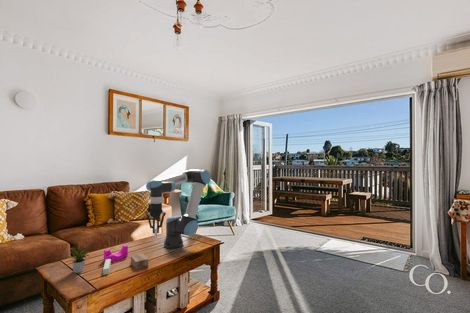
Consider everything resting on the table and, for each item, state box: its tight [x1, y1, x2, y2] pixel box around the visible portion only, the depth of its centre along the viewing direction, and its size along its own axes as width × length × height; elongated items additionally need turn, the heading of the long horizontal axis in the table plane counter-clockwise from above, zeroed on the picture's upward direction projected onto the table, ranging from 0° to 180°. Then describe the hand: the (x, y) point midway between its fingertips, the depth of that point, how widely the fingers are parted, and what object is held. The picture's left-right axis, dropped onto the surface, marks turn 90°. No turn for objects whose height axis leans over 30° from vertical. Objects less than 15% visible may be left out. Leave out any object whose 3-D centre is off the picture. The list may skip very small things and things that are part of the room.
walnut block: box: [130, 253, 149, 270], centre depth 166 cm, size 8×12×5 cm, turn 35°
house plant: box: [67, 244, 90, 274], centre depth 155 cm, size 14×14×16 cm
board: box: [102, 259, 112, 276], centre depth 159 cm, size 3×16×4 cm, turn 22°
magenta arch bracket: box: [103, 244, 129, 263], centre depth 176 cm, size 15×6×8 cm, turn 139°
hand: (155, 238), depth 170 cm, fingers closed
